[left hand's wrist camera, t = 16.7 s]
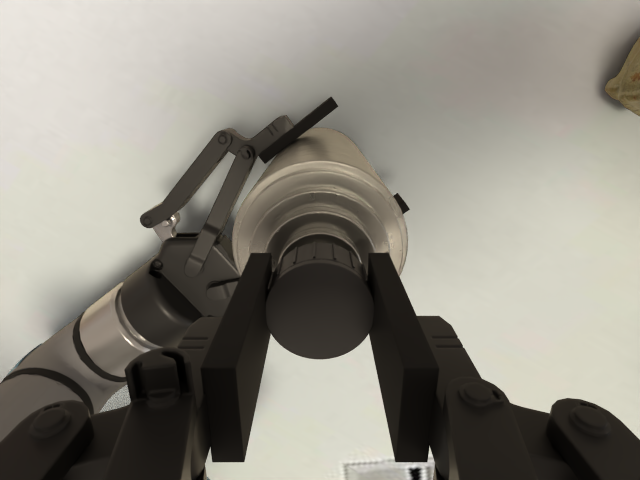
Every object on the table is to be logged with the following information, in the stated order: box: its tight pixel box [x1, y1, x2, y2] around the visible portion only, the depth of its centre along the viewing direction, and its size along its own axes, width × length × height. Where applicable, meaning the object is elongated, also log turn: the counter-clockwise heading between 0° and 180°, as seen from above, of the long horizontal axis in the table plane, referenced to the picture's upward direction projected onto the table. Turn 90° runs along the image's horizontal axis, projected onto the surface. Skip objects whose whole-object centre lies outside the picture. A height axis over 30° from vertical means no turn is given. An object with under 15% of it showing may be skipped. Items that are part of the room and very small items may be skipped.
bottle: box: [232, 128, 408, 277], centre depth 25 cm, size 8×8×24 cm
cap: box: [265, 242, 374, 359], centre depth 14 cm, size 4×4×2 cm
